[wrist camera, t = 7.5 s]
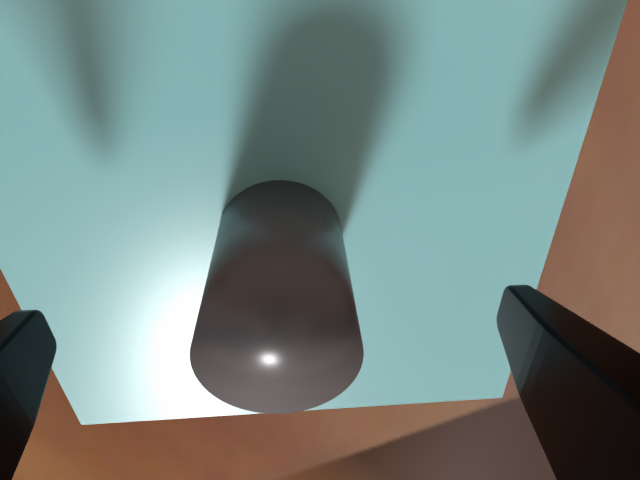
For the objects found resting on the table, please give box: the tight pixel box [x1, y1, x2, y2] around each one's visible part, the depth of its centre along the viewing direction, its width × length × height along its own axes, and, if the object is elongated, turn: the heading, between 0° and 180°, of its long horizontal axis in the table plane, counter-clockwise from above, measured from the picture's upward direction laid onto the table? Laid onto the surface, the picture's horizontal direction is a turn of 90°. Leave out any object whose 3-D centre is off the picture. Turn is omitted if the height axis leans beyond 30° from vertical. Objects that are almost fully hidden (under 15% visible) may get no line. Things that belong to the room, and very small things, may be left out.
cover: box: [0, 0, 628, 425], centre depth 10 cm, size 14×14×5 cm
